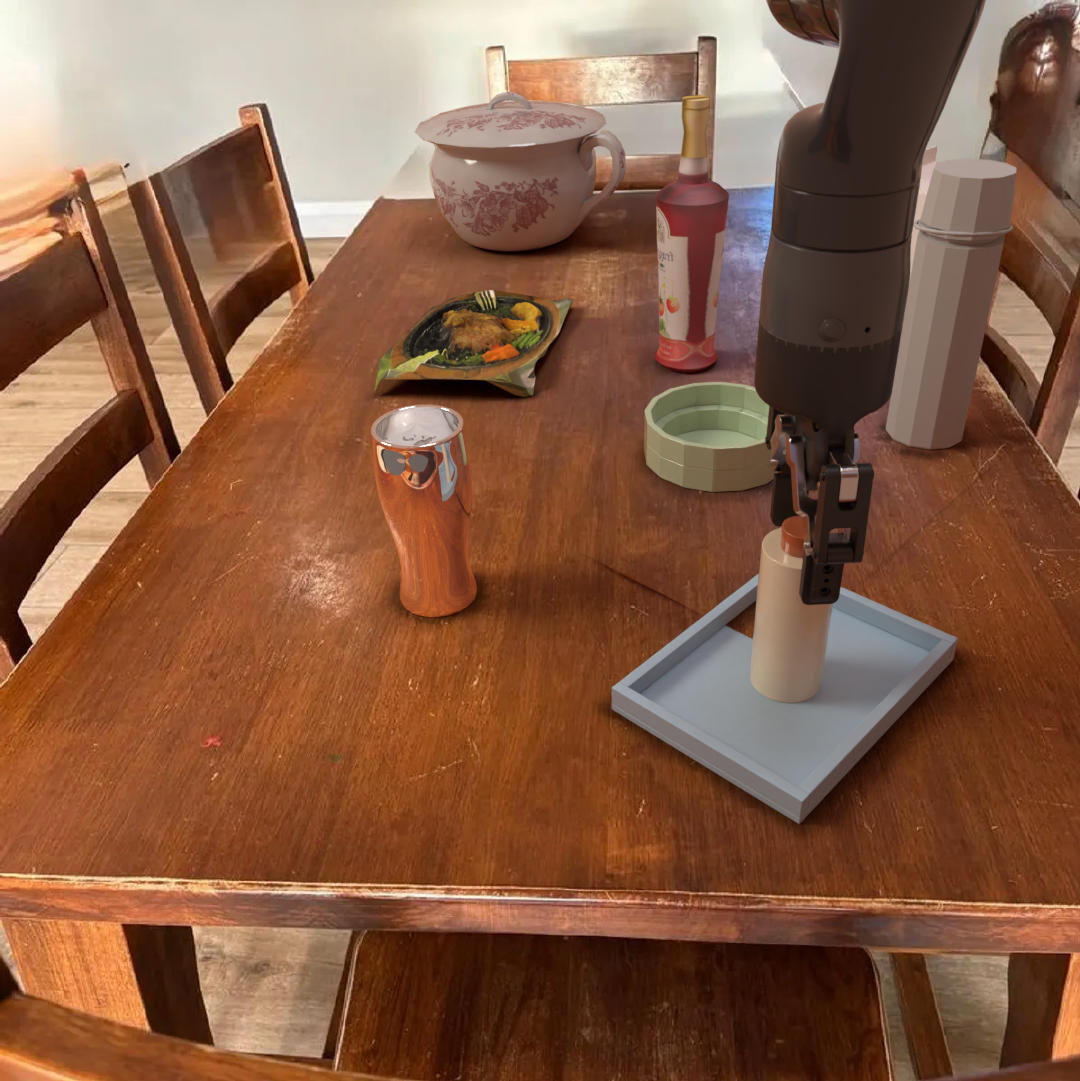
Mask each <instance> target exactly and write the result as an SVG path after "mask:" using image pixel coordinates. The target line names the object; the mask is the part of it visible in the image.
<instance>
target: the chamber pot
mask: <svg viewBox="0 0 1080 1081" xmlns="http://www.w3.org/2000/svg"><path fill="white" fill-rule="evenodd" d="M606 125H607V120H606V117H605V115H604V114H602V113H601V112H600V111H597V110H595V109H593V108H589V107H586V106H582V105H578V104H572V103H569V102H559V101H551V100H550V101H548V100H531V99H530V100H528V99H527V98H526V97H524V96H523V95H521V94H519V93H517V92H511V91H504V92H500V93H497V94H496V95H494V96H493V98H491V99H490V101H489V102H483V103H477V104H473V105H472V104H471V105H466V106H460V107H456V108H452V109H449V110H446V111H442V112H440V113H438V114H436V115H433V116H430V117H428V118H426V119H424V120H422V121H420V122H419V123H418V125H417V126H416V128H415V130H414V133H415V134H416V135H417V136H418V138H420V139H421V140H422V141H424V142H427V143H430V144H433V146H434V148H435V149H434V151H433V153H432V156H431V159H430V160H429V163H428V172H429V182H430V186H431V189H432V192H433V196H434V199H435V202H436V206H437V209H438V210H439V211H440V213H441V214H442V216H443V217H444V218H445V220H446V222H447V223H448V224H449V225H450V227H451V228H452V230H453V231H454V232H455V233H456V235H457V236H458V237H459V238H460V239H461V240H462V241H463V242H464V243H466V244H468V245H470V246H473V247H476V248H480V249H484V250H488V251H494V252H500V253H501V252H502V253H503V252H504V253H519V252H520V253H522V252H529V251H530V252H531V251H536V250H541V249H543V248H547V247H550V246H552V245H555V244H557V243H560V242H562V241H564V240H567V239H568V238H569V237H570V236H571V235H572V234H573V233H574V232H575V230H577V228H578V227H579V226H581V224H582V223H583V221H584V220H585V219H586V217H587V216H588V215H589V214H590V213H591V212H592V210H594V209H595V207H596V206H597V205H600V204H601V203H602V202H604V201H605V200H606V199H608V198H610V197H611V196H612V195H614V193H615V191H616V190H617V189H618V187H619V186H620V185H621V183H622V182H623V181H624V178H625V175H626V170H627V160H626V151H625V149H624V146H623V144H622V142H621V140H620V139H619V138H618V137H617V136H616V135H615V134H614V133H613V132H612V131H610V130H609V129H602V128H604V127H605V126H606ZM601 129H602V130H601ZM600 130H601V131H600ZM597 132H599V133H597ZM598 147H601V148H602V147H603V148H606V150H609V153H610V156H611V165H612V171H611V175H610V178H609V181H608V182H607V183H606V185H605V186H604V187H603V188H602V190H601V191H600V192H599V193H597V194H594V190H595V185H596V179H597V154H596V150H595V148H598Z"/></svg>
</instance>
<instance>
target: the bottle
mask: <svg viewBox="0 0 1080 1081" xmlns="http://www.w3.org/2000/svg"><path fill="white" fill-rule="evenodd" d="M803 541H804V532H803V519H802V517H801V516H793V517H790V518H787V519H786V520H785V521H784V522H783V523H782V526H781V527H778V528H775V529H773V530H771V531H769V532H768V533H767V534H765V536H764V537H763V539H762V540H761V548H760V557H759V558H760V559H759V570H758V571H759V572H758V574H759V579H758V589H757V600H756V601H755V611H754V622H753V631H752V632H753V634H752V639H753V642H752V653H751V664H750V681H751V683H752V685H753V687H754V688H755V689H756V690H757V691H758V692H759V693H760V694H762V695H763V696H765V697H767V698H769V699H772V700H775V701H778V702H785V703H797V702H802V701H805V700H808V699H810V698H812V697H813V696H815V695H816V694H817V692H818V691H819V690H820V687H821V682H822V676H823V669H824V662H825V655H826V649H827V642H828V635H829V628H830V622H831V615H832V608H833V604H821V605H806V604H804V603H803V602H802V600H801V597H800V595H799V588H800V580H801V571H802V563H803V554H804V548H803Z"/></svg>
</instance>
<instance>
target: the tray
mask: <svg viewBox="0 0 1080 1081" xmlns="http://www.w3.org/2000/svg"><path fill="white" fill-rule="evenodd" d="M758 579H759V573H757V574H756V575H755V576H754V577H752V578H751V579H750V580H748V581H747V582H746V583H744V584H743V585H742V586H740V587H739V588H738V589H737V590H736V591H734V592H733V593H731V594H730V595H728V597H727V598H725V599H724V600H722V601H721V602H720V603H718V604H717V605H716V606H715V607H714V608H712V609H710V610H709V611H708V612H707V613H705V614H704V615H703V616H702V617H701V618H700V619H698V620H697V621H695V622H694V623H693V624H691V625H690V626H689V627H688V628H686V629H685V630H684V631H683V632H681V633H680V634H679V635H677V636H676V637H675V638H673V639H672V640H671V641H670V642H668V643H667V644H665V645H664V646H663V647H662V648H660V649H659V650H658V651H656V653H654V654H652V656H650V657H649V658H648V659H647V660H645V661H644V662H642V663H641V664H640V665H639V666H637V667H636V668H635V669H633V670H632V671H630V672H629V673H628V674H627V675H625V677H623V678H622V679H620V680H619V681H618V682H617V683H616V684H615V685H613V686H612V687H611V710H612V711H614V712H615V713H617V714H619V715H620V716H622V717H624V718H625V719H627V720H629V721H630V722H631V723H633V724H635V725H637V726H638V727H640V728H641V729H643V730H645V731H646V732H648V733H649V734H651V735H653V736H655V737H657V739H659V740H661V741H663V742H665V744H667V745H668V746H671V747H673V748H674V749H675V750H677V751H679V752H681V753H682V754H684V755H686V756H687V757H689V758H690V759H692V760H694V761H695V762H697V763H698V764H700V765H702V766H703V767H705V768H706V769H709V770H710V771H711V772H713V773H715V774H717V775H718V776H720V777H721V778H723V779H724V780H726V781H728V782H730V783H731V784H733V785H734V786H736V787H738V788H739V789H742V791H744V792H745V793H747V794H748V795H751V796H752V797H754V798H755V799H757V800H758V801H761V802H762V803H764V804H766V805H767V806H768V807H770V808H771V809H773V810H775V811H777V812H779V813H780V814H782V815H783V816H785V817H787V818H789V819H790V820H791V821H793V822H794V823H797V824H798V825H800V824H802V822H803V821H804V820H805V819H806V818H807V817H808V815H810V813H811V812H812V811H813V810H814V809H816V807H817V806H818V805H819V804H820V803H821V802H822V801H823V800H824V799H825V797H826V796H827V795H828V794H829V793H830V792H831V791H832V790H833V789H834V788H835V787H836V786H837V785H838V784H839V782H840V781H841V780H842V779H843V778H844V777H845V776H846V775H847V774H848V773H849V772H850V771H851V770H852V769H853V768H854V767H855V765H856V764H857V763H858V762H859V761H860V760H861V759H862V758H863V757H864V756H865V755H866V754H867V752H869V751H870V750H871V748H872V747H873V746H874V745H875V744H876V743H877V742H878V741H879V740H880V739H881V737H882V736H884V734H886V732H887V731H888V730H889V729H890V728H891V727H892V726H893V725H894V724H895V723H896V721H898V720H899V718H900V717H901V716H902V715H903V714H904V713H905V712H906V711H907V710H908V709H909V708H910V707H911V706H912V704H914V703H915V701H916V700H917V699H918V698H919V697H920V696H921V695H922V694H923V693H924V692H925V691H926V690H927V689H928V688H929V687H930V685H931V684H932V683H933V682H934V681H935V680H936V679H937V678H938V677H939V676H940V675H941V674H942V672H943V671H945V669H946V668H947V667H948V666H949V665H950V664H951V663H952V662H953V661H954V659H955V653H956V650H957V644H958V641H959V638H958V637H956V636H954V635H952V634H949V633H948V632H946V631H942V630H940V629H938V628H936V627H935V626H931V625H929V624H926V623H925V622H922V621H921V620H917V619H915V618H913V617H912V616H911V617H910V616H909V615H906V614H904V613H902V612H899V611H897V610H896V609H893V608H890V607H888V606H886V605H884V604H881V603H879V602H877V601H874V600H872V599H870V598H868V597H866V596H863V595H861V594H858V593H857V592H854V591H852V590H850V589H847V588H845V587H843V586H841V588H840V595H839V599H838V600H837V601H836V602H835V603H833V608H832V615H831V622H830V628H829V635H828V642H827V649H826V655H825V662H824V669H823V676H822V682H821V687H820V690H819V691H818V692H817V694H816V695H815V696H813V697H812V698H810V699H808V700H805V701H802V702H797V703H785V702H778V701H775V700H772V699H769V698H767V697H765V696H763V695H762V694H760V693H759V692H758V691H757V690H756V689H755V688H754V687H753V685H752V683H751V681H750V664H751V653H752V642H753V637H750V636H749V635H747V634H744V633H742V632H740V631H738V630H736V629H734V628H732V627H730V626H728V625H727V624H729V623H730V622H731V621H732V620H734V619H735V618H736V617H737V616H739V615H740V614H741V613H742V612H744V611H745V610H746V609H747V608H749V607H750V606H751V605H752V604H754V603H756V600H757V589H758Z"/></svg>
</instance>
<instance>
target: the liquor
mask: <svg viewBox="0 0 1080 1081" xmlns="http://www.w3.org/2000/svg"><path fill="white" fill-rule="evenodd" d="M710 109H711V96H709V95H704V94H693V95H692V94H691V95H686V96H682V98H681V122H682V128H683V135H682V144H681V149H680V158H679V167H678V174H677V175H678V176H677V177H678V178H677V179H676V180H673V181H671V182H669V183H667V184H666V185H664V186H663V187H662V188H661V189H660V190H658V192H657V193H656V194H655V204H656V207H655V208H656V211H655V212H656V249H657V250H656V251H657V252H656V253H657V274H658V275H657V276H658V329H659V330H658V332H659V333H658V339H659V341H658V344H659V345H658V346H659V347H658V348H657V350H656V352H655V353H654V359H655V360H656V361H657V363H658V364H660V365H661V366H662V367H663V368H665V369H666V370H669V371H671V372H675V373H686V374H687V373H689V374H690V373H697V372H701V371H704V370H706V369H707V368H709V367H710V366H711V365H712V364H715V363H716V361H717V360H718V353H717V351H716V350H715V339H716V338H715V337H716V324H717V314H718V304H719V303H718V302H719V295H720V294H719V292H720V282H721V281H720V280H721V274H722V267H723V258H724V249H725V241H726V230H727V219H728V209H729V201H730V193H729V192H728V190H726V189H725V188H724V187H723V186H722V185H721V184H720V183H719V182H716V181H714V180H711V179H709V168H708V167H709V164H708V144H707V129H708V125H709V120H710Z"/></svg>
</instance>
